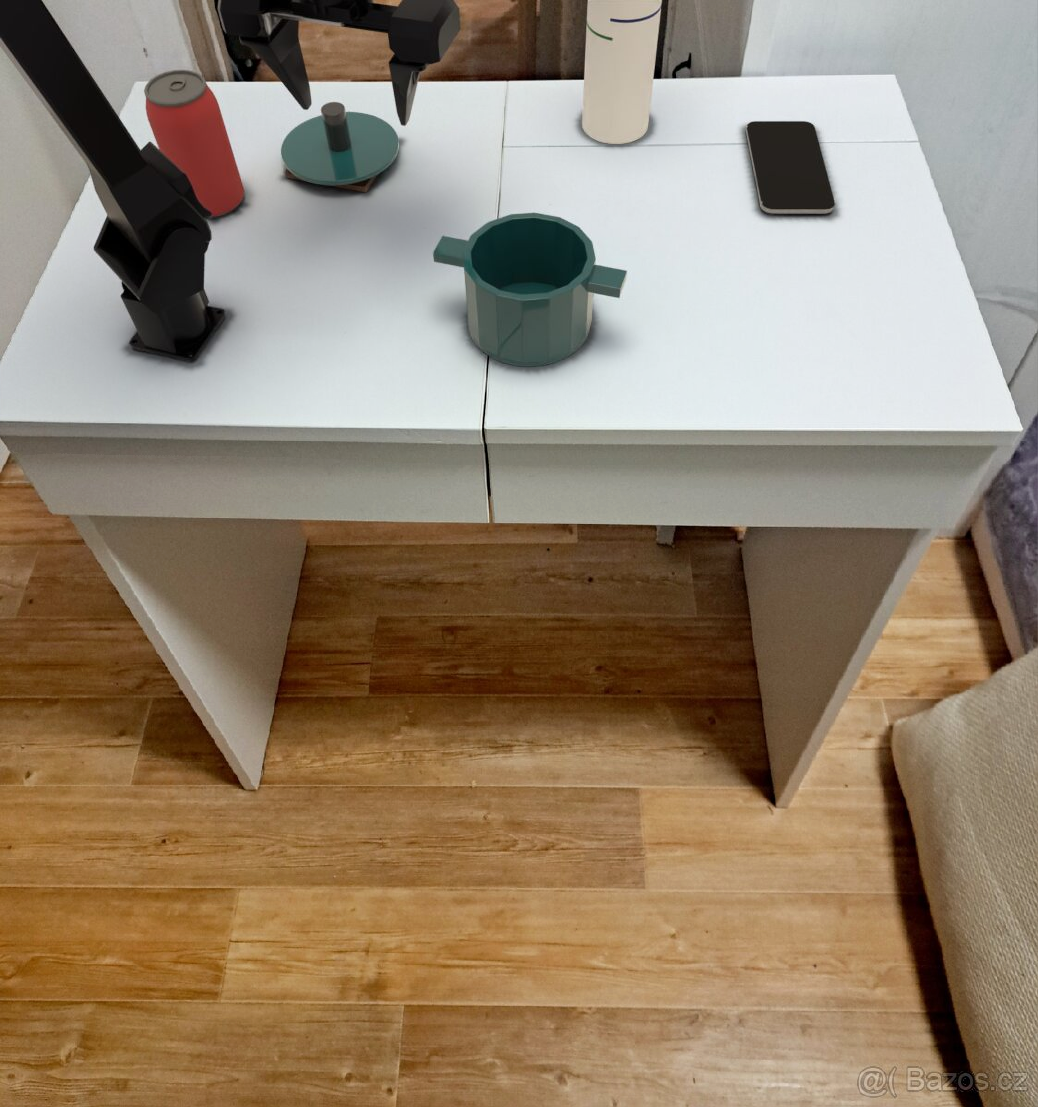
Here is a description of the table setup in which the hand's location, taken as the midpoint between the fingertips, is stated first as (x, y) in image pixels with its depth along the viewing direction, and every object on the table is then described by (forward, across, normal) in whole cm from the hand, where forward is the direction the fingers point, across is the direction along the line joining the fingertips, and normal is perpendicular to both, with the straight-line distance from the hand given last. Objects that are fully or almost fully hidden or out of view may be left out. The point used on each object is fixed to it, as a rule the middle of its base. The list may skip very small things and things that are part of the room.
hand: (356, 115), depth 81 cm
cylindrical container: (+12, -19, -24) cm, 32 cm away
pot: (+12, -18, +8) cm, 23 cm away
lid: (+11, +8, -10) cm, 16 cm away
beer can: (+12, +18, 0) cm, 21 cm away
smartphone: (+12, -38, -20) cm, 44 cm away
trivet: (+12, +8, -10) cm, 17 cm away
